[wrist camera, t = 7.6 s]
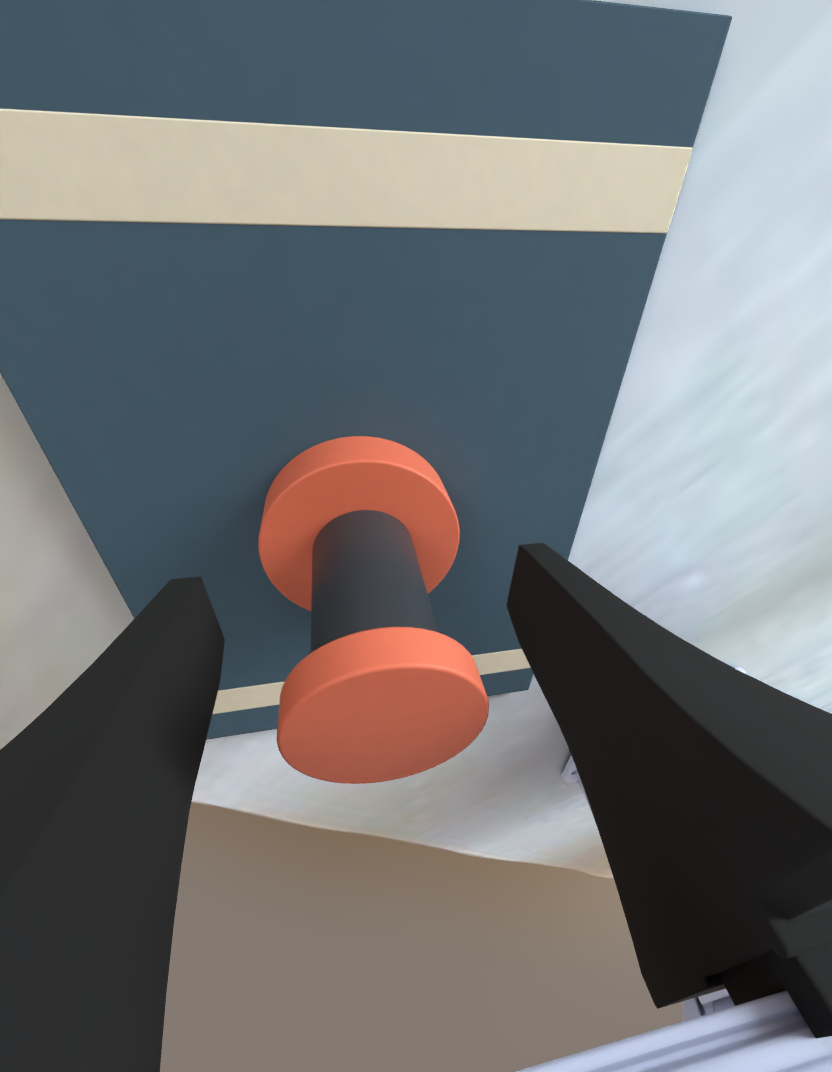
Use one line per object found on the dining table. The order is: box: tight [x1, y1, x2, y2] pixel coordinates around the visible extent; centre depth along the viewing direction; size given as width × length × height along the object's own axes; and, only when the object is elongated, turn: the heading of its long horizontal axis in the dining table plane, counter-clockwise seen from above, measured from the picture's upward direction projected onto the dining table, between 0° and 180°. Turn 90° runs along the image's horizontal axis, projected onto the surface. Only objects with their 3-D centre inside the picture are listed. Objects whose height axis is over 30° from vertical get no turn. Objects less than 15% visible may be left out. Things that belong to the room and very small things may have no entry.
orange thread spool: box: [259, 436, 489, 784], centre depth 10 cm, size 5×5×6 cm
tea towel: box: [0, 0, 732, 740], centre depth 12 cm, size 20×14×1 cm
